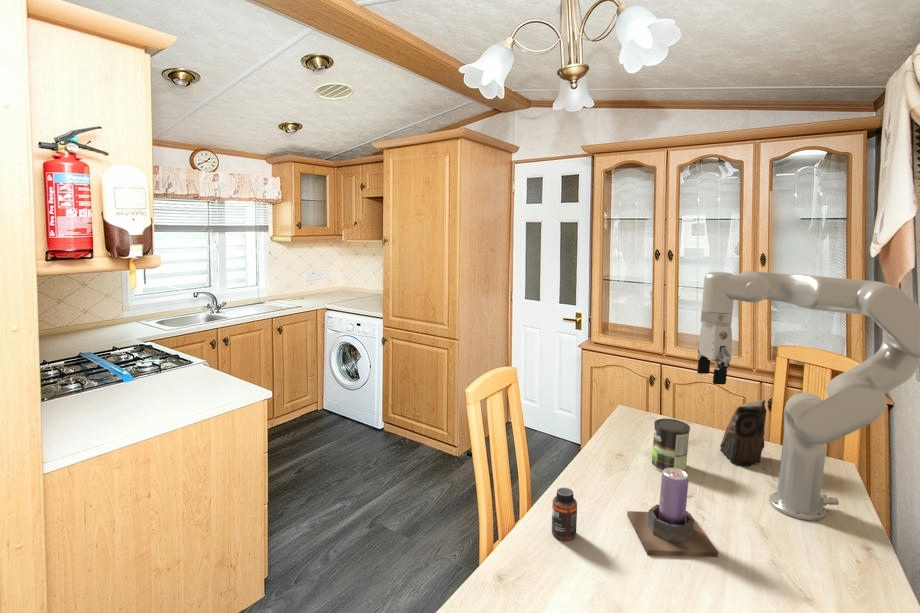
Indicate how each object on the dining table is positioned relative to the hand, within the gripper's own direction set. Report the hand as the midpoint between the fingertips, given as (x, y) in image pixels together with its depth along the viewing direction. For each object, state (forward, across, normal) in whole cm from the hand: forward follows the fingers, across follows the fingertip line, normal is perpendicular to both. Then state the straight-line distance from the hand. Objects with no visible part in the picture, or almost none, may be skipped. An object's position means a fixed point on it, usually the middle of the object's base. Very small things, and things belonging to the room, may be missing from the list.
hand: (710, 378), depth 140 cm
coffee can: (+34, +14, +4) cm, 37 cm away
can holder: (+33, -22, +17) cm, 43 cm away
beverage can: (+32, -22, +17) cm, 42 cm away
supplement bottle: (+34, -23, +43) cm, 59 cm away
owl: (+34, +22, -22) cm, 46 cm away
